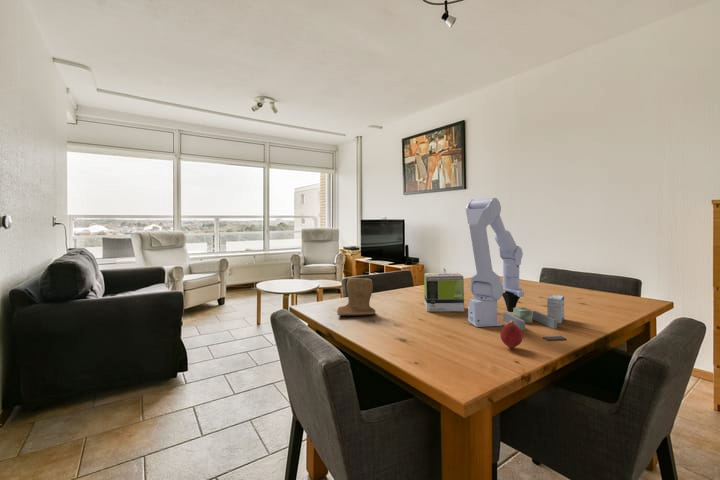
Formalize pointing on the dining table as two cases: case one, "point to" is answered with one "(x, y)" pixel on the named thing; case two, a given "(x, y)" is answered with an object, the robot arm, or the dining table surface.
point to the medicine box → (556, 308)
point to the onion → (511, 335)
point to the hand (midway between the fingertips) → (510, 311)
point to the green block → (523, 314)
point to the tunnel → (535, 316)
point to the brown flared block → (357, 298)
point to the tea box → (444, 291)
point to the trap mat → (554, 338)
